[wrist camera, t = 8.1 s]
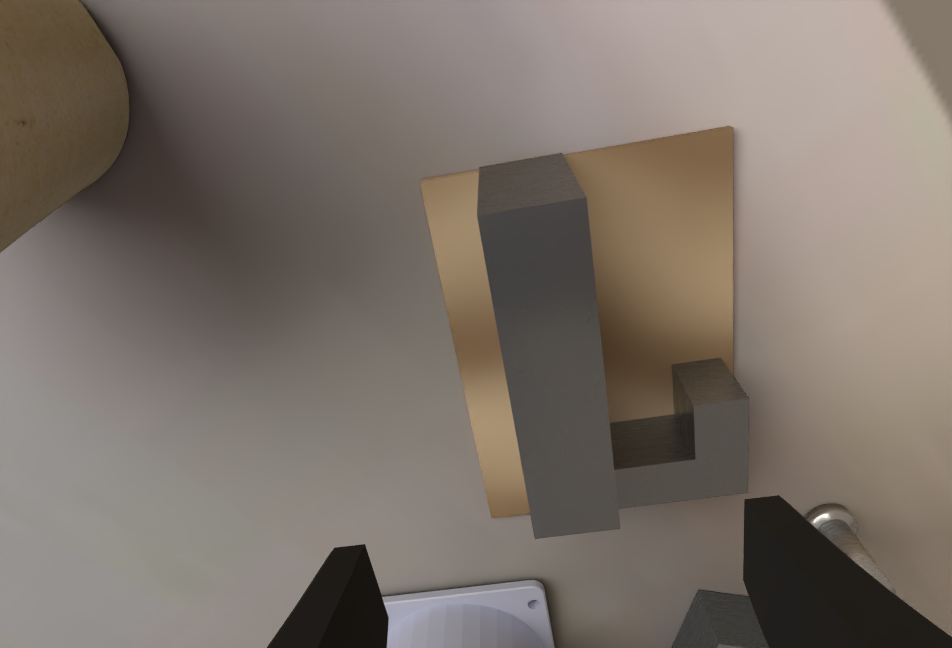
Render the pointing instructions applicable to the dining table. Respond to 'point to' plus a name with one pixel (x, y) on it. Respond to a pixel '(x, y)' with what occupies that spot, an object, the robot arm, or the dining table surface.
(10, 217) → the flower pot
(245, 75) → the dining table surface
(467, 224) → the plate
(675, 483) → the uneven u-shaped block
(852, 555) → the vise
